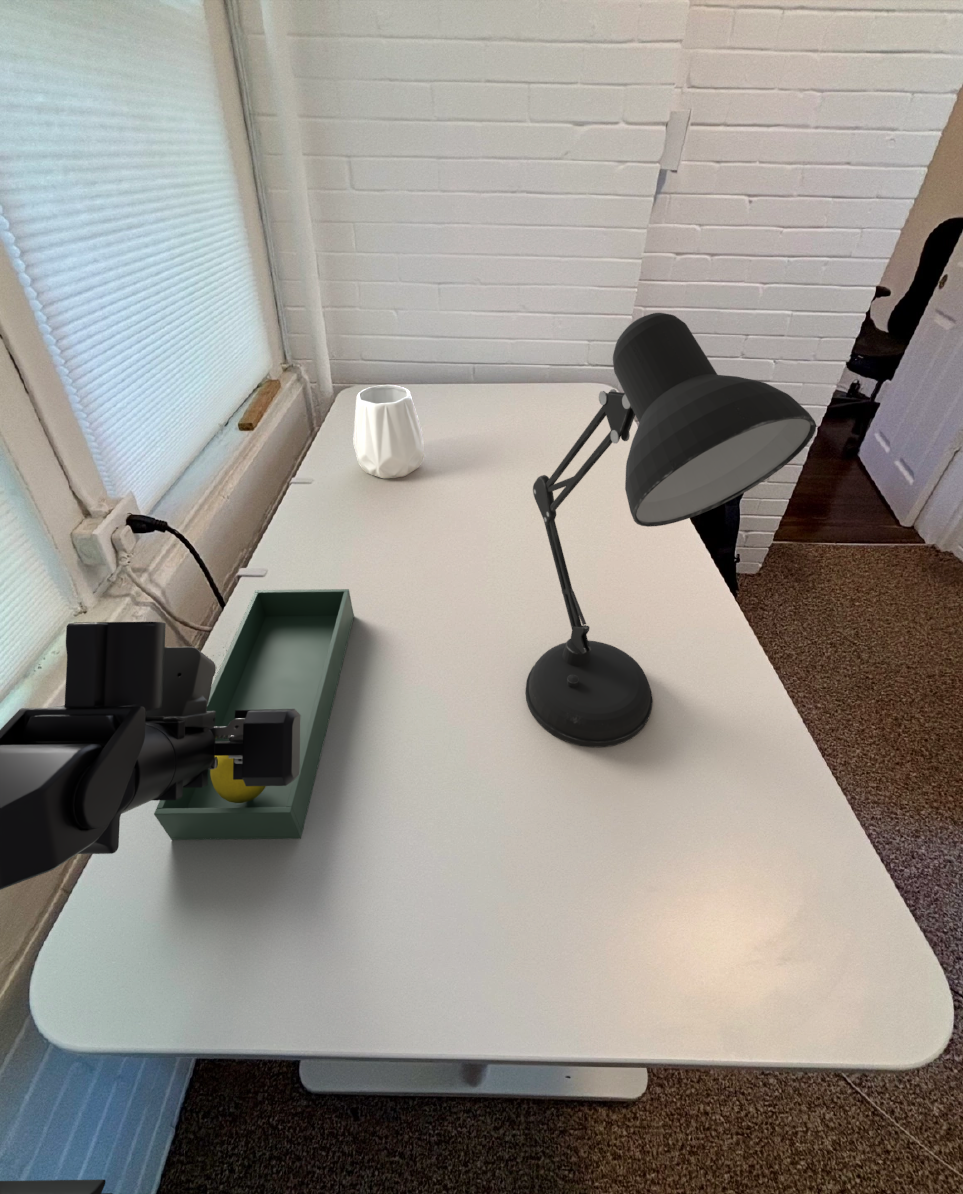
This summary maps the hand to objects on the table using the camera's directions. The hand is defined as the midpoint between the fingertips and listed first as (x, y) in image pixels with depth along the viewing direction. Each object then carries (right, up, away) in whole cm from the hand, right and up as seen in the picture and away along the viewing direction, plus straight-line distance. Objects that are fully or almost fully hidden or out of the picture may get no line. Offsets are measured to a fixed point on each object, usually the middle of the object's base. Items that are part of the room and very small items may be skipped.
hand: (228, 733), depth 58 cm
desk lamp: (+39, 0, +15) cm, 41 cm away
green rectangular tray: (0, 0, +15) cm, 15 cm away
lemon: (0, -8, +5) cm, 9 cm away
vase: (+7, +40, +63) cm, 75 cm away
